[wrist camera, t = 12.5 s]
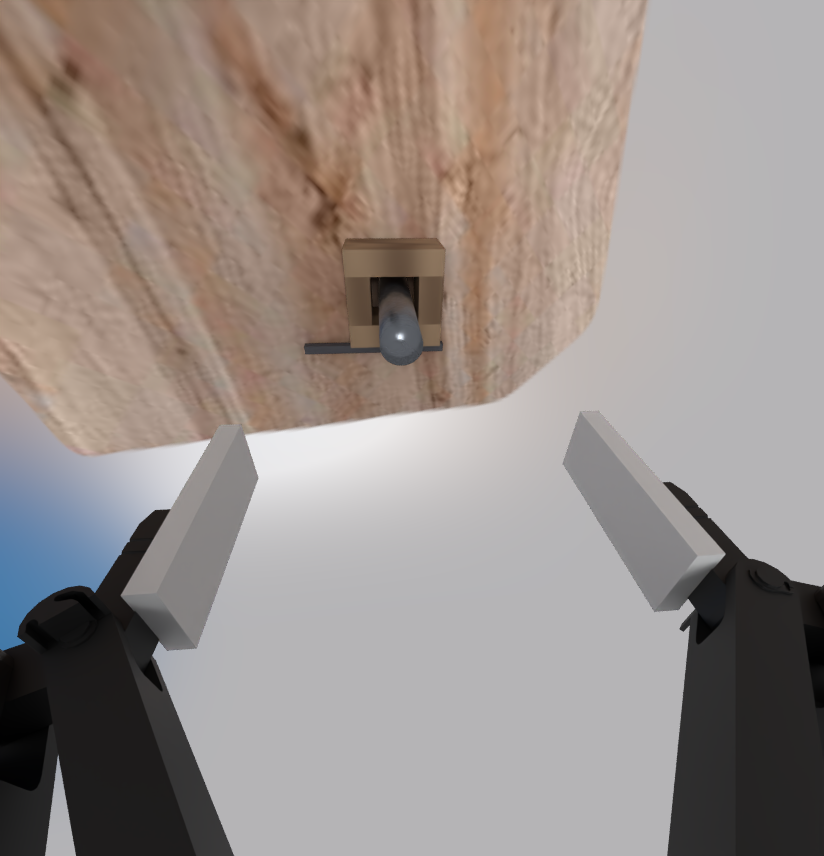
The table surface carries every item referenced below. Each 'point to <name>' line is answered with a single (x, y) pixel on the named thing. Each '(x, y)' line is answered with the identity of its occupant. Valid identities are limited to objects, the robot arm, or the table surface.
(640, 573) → the robot arm
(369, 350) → the dark grey rod
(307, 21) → the table surface
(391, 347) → the dark grey peg
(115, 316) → the table surface
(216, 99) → the table surface
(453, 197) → the table surface
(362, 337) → the bead block
